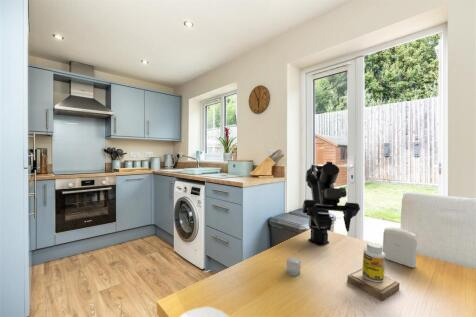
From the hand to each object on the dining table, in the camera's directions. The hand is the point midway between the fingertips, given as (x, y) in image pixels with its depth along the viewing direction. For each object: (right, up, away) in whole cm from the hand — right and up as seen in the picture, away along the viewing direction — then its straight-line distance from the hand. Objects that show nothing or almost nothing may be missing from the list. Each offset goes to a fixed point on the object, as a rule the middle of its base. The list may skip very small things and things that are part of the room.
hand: (333, 230), depth 75 cm
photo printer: (+27, -14, +7) cm, 32 cm away
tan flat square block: (+8, -14, -8) cm, 18 cm away
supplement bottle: (+8, -12, -8) cm, 17 cm away
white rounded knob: (-14, -13, -2) cm, 20 cm away
